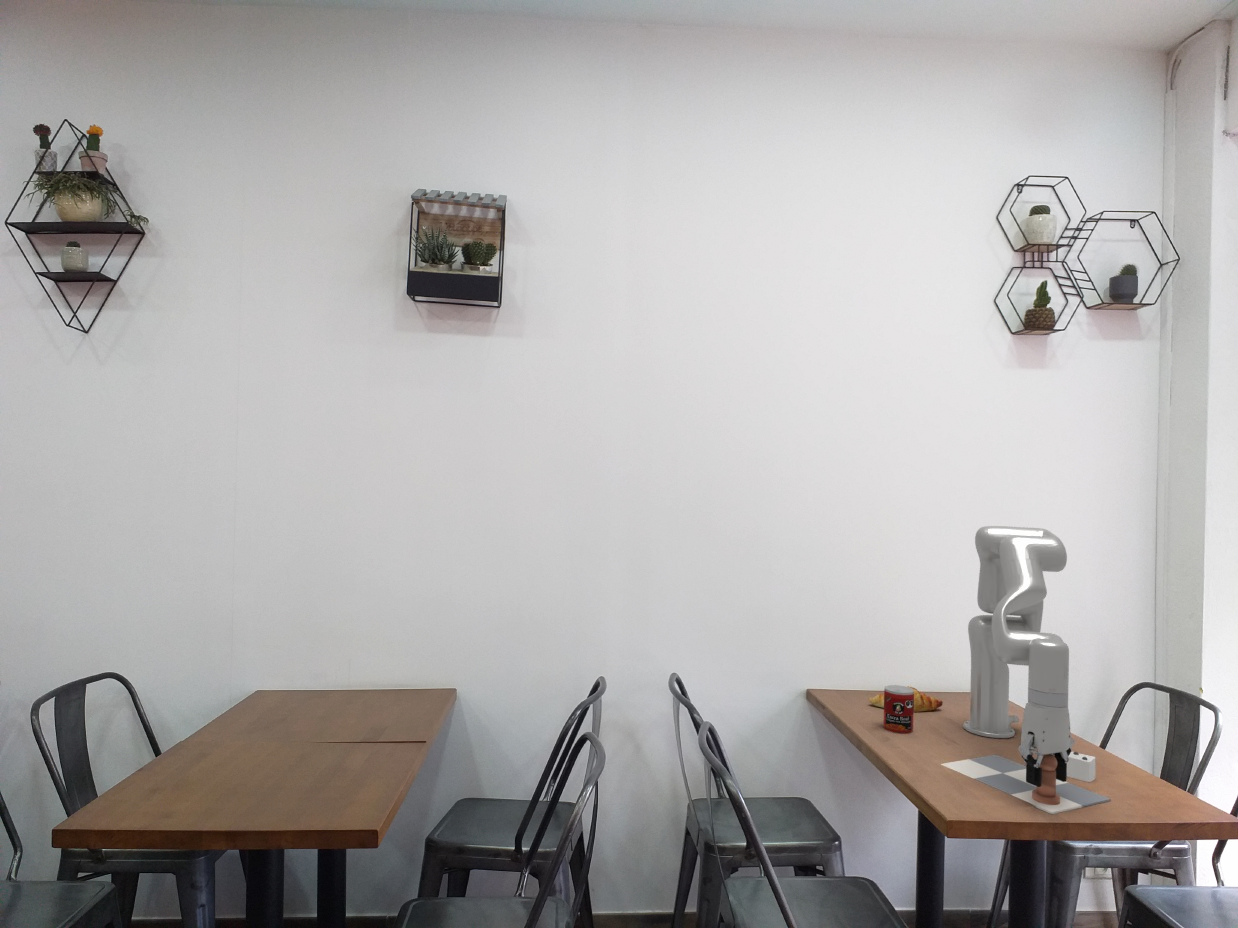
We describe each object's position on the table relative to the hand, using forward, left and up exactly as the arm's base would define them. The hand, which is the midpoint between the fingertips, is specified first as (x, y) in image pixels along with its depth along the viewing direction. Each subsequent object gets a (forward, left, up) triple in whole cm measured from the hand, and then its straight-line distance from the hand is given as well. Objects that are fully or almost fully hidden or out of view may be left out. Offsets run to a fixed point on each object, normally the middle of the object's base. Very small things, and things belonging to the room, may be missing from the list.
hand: (1046, 781), depth 164 cm
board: (-5, -9, -4) cm, 11 cm away
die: (-21, -6, -4) cm, 22 cm away
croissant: (-24, -63, -5) cm, 68 cm away
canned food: (-7, -48, -4) cm, 49 cm away
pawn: (0, 0, -4) cm, 4 cm away
